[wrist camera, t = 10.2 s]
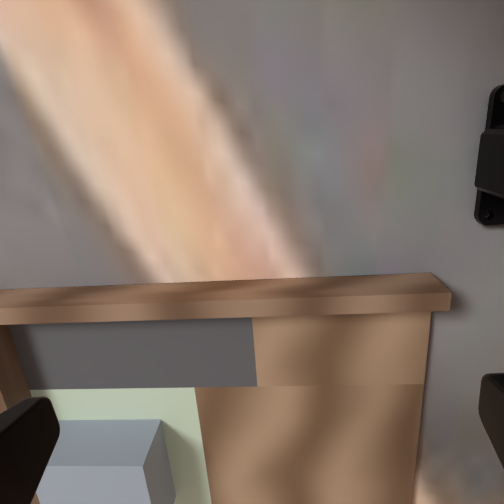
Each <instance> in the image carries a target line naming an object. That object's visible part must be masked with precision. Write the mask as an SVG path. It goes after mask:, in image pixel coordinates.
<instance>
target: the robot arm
mask: <svg viewBox="0 0 504 504" xmlns="http://www.w3.org/2000/svg"><path fill="white" fill-rule="evenodd" d="M503 91H504V84H503V85H500V86H497V87H496V88H494V89H493V91H492V92H491V94H490V97H489V105H488V112H487V120H486V127H485V131H484V132H483V133H482V134H481V138H480V146H479V154H478V161H477V169H476V177H475V187H476V188H477V196H476V204H475V211H474V218H475V219H476V221H478V222H479V223H481V224H483V225H498V224H504V101H503V102H502V101H501V100H500V95H501V93H502V92H503ZM486 211H490V214H489V216H488V217H487V218H484V217H483V215H484V213H485V212H486ZM479 415H480V418H481V421H482V423H483V426H484V428H485V430H486V432H487V434H488V436H489V438H490V440H491V443H492V445H493V447H494V449H495V451H496V453H497V455H498V458H499V460H500V462H501V464H502V466H503V468H504V373H490V374H485V375H484V376H483V377H482V380H481V388H480V398H479ZM59 435H60V424H59V421H58V419H57V416H56V413H55V410H54V408H53V405H52V402H51V400H50V399H49V398H48V397H44V396H43V397H29V398H26V399H24V400H23V401H21V402H19V403H18V404H16V405H14V406H12V407H11V408H9V409H7V410H6V411H4V412H2V413H0V504H31V502H32V500H33V498H34V495H35V493H36V491H37V488H38V486H39V483H40V481H41V479H42V476H43V474H44V472H45V469H46V467H47V464H48V462H49V460H50V457H51V455H52V453H53V450H54V448H55V446H56V443H57V441H58V438H59Z"/></svg>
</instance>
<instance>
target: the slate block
mask: <svg viewBox="0 0 504 504" xmlns="http://www.w3.org/2000/svg"><path fill="white" fill-rule="evenodd" d="M59 424H60V435H59V438H58V441H57V443H56V446H55V448H54V450H53V453H52V455H51V457H50V460H49V462H48V464H47V467H46V469H45V472H44V474H43V476H42V479H41V481H40V483H39V486H38V488H37V491H36V493H37V496H38V499H39V502H40V504H174V501H175V498H176V494H175V489H174V484H173V479H172V474H171V468H170V463H169V458H168V453H167V448H166V443H165V438H164V433H163V427H162V422H161V419H137V420H60V421H59Z"/></svg>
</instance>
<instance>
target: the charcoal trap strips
mask: <svg viewBox="0 0 504 504" xmlns="http://www.w3.org/2000/svg"><path fill="white" fill-rule="evenodd" d="M8 326H9V329H10V332H11V335H12V338H13V341H14V344H15V347H16V350H17V353H18V356H19V359H20V362H21V365H22V368H23V371H24V374H25V377H26V380H27V383H28V386H29V390H53V389H122V388H190V387H257V374H256V362H255V349H254V337H253V324H252V317H240V318H207V319H175V320H142V321H110V322H77V323H45V324H12V325H8Z"/></svg>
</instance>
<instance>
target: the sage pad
mask: <svg viewBox="0 0 504 504" xmlns="http://www.w3.org/2000/svg"><path fill="white" fill-rule="evenodd" d="M30 393H31V396H32V397H43V396H44V397H48V398H49V399H50V400H51V402H52V405H53V408H54V410H55V413H56V416H57V419H58V421H60V420H137V419H161V422H162V427H163V433H164V438H165V443H166V448H167V453H168V458H169V463H170V468H171V474H172V479H173V484H174V489H175V494H176V498H175V501H174V504H212V503H211V496H210V489H209V483H208V476H207V469H206V463H205V456H204V449H203V443H202V436H201V429H200V422H199V416H198V409H197V402H196V396H195V389H194V387H190V388H122V389H53V390H30Z"/></svg>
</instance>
